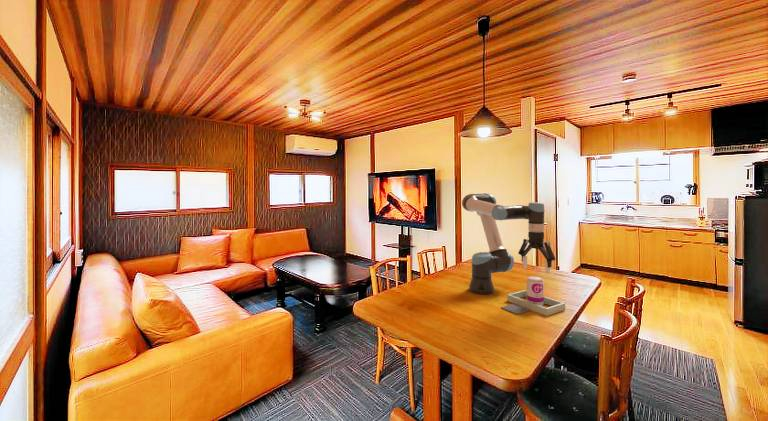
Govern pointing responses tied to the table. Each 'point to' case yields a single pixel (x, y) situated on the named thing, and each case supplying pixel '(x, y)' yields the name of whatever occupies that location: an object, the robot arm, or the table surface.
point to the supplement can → (535, 290)
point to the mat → (515, 309)
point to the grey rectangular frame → (555, 305)
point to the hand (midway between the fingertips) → (535, 270)
